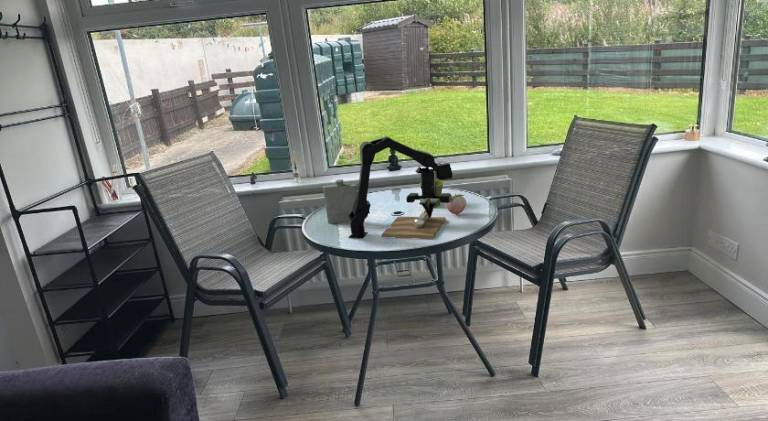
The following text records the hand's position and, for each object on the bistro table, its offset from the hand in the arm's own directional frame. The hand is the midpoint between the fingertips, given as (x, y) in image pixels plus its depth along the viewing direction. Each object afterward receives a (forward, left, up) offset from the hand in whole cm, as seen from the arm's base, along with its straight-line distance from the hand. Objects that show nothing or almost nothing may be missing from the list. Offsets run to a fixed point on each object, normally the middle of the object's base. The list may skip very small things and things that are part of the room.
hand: (430, 216), depth 220 cm
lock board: (-6, +5, -3) cm, 9 cm away
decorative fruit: (+13, -9, -4) cm, 16 cm away
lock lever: (-3, +2, -1) cm, 4 cm away
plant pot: (+26, +5, -4) cm, 26 cm away
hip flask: (+1, +41, -4) cm, 42 cm away
